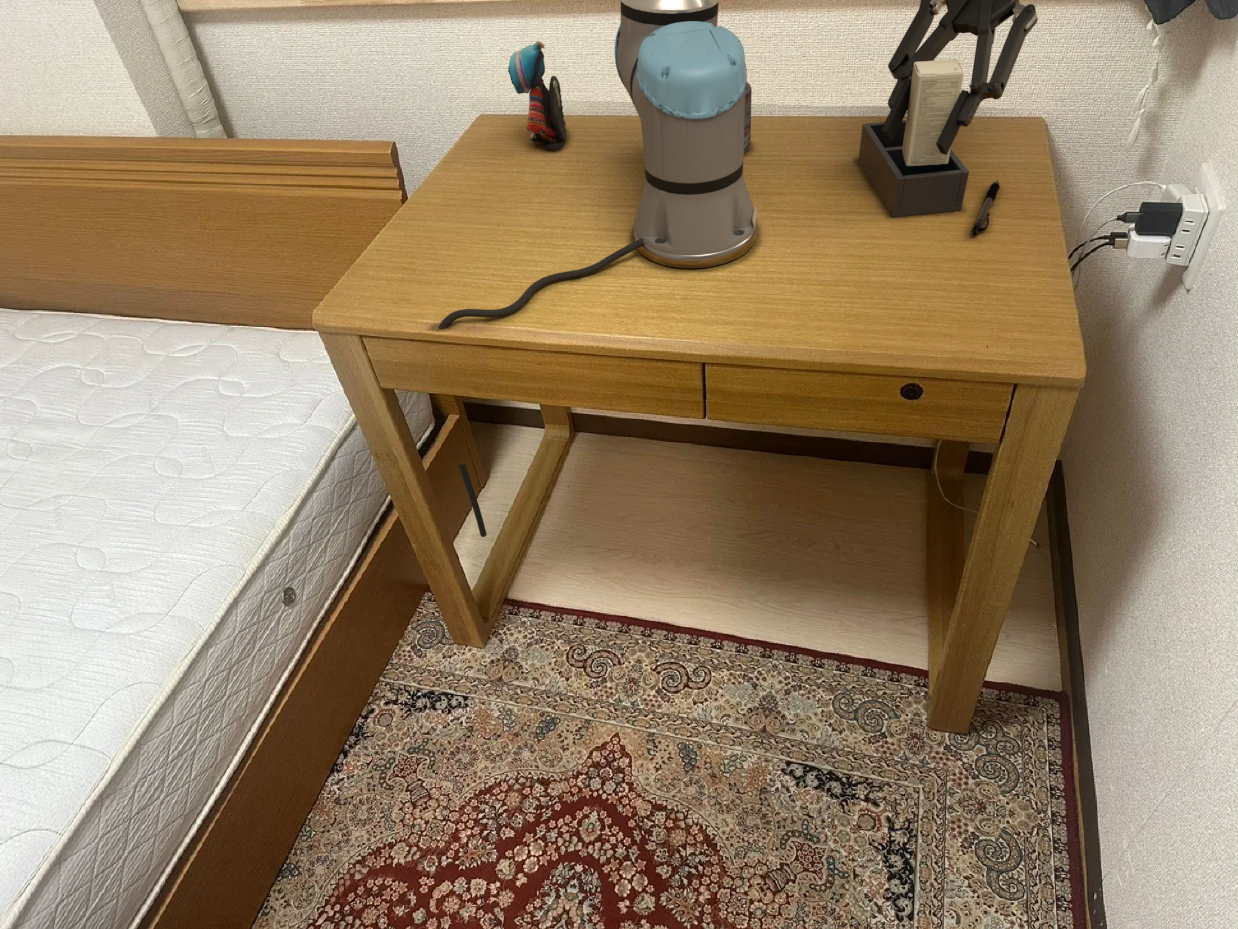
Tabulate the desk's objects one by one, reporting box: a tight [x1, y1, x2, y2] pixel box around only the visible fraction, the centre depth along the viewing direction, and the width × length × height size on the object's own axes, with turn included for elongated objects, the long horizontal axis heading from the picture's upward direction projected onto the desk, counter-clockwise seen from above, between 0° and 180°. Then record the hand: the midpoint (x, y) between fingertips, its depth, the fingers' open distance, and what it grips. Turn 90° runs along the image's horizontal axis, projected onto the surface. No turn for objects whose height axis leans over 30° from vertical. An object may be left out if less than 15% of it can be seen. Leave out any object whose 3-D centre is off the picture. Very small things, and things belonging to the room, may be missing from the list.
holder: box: [858, 118, 970, 218], centre depth 110 cm, size 9×16×5 cm, turn 3°
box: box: [902, 58, 965, 166], centre depth 102 cm, size 5×4×11 cm
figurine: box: [507, 40, 567, 152], centre depth 126 cm, size 10×7×15 cm
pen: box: [971, 180, 1000, 237], centre depth 105 cm, size 14×2×1 cm, turn 152°
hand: (913, 142), depth 102 cm, fingers closed on box, 6 cm apart
